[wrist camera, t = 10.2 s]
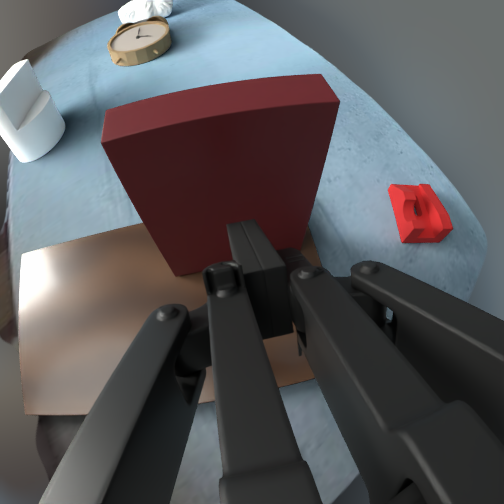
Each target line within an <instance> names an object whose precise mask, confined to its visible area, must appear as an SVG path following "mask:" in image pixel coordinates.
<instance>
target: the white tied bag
mask: <svg viewBox="0 0 504 504" xmlns="http://www.w3.org/2000/svg"><path fill="white" fill-rule="evenodd" d="M172 6H173V0H134V1H130V2H129V3H127V4H126V5H125V6H123V7H121V9H120V10H119V12H118V14H119V18H120V19H121V21H122V23H123V24H124V23H127V22H131V23H134V22H137V21H139V20H143V19H149V18H150V17H152V16H161V17H163V18H165V17H167V16H169V15H170V14H171V11H172Z"/></svg>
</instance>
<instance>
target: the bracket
mask: <svg viewBox="0 0 504 504" xmlns="http://www.w3.org/2000/svg"><path fill="white" fill-rule="evenodd" d="M388 192H389V196H390V199H391V203H392V206H393V210H394V214H395V218H396V222H397V226H398V230H399V234H400V238H401V242H402V243H438V242H441V241H442V240H443V239H444V238H445V237H446V236H447V235H448V234H449V233H450V232H451V231H452V230H453V227H452V223H451V220H450V217H449V214H448V213H447V211H446V210H445V208H444V206H443V205H442V203H441V202H440V200H439V199H438V197H437V195H436V194H435V192H434V191H433V189H432V188H431V186H430V185H429V184H419V186H414V185H397V184H391V185H390V187H389V189H388ZM414 206H415V209H416V212H417V215H416V214H415V212H414Z"/></svg>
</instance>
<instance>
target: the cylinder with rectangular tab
mask: <svg viewBox="0 0 504 504" xmlns="http://www.w3.org/2000/svg"><path fill="white" fill-rule="evenodd" d="M64 130H65V122H64V120H63V118H62V116H61V115H60V113H59V111H58V109H57V107H56V105H55V103H54V101H53V99H52V97H51V95H50V93H49V92H48V91H46V90H43V89H42V87H41V85H40V83H39V81H38V79H37V77H36V75H35V73H34V71H33V69H32V67H31V65H30V63H29V61H28V59H26V60H23V61H21V62H19V63H17V64H15V65H13V66H12V67H11V68H10V70H9V71H8V72H7V73H6V74H5V76H4V77H3V78H2V79H1V80H0V135H1V136H2V138H3V139H4V140H5V142H6V143H7V145H8V146H9V147H10V149H11V150H12V151H13V153H14V154H15V155H16V157H17V158H18V159H19V161H21V162H23V163H25V162H31V161H35V160H37V159H38V158H40V157H42V156H43V155H45V154H46V153H48V152H49V151H50V150H51V149H52V148H53V147H54V146H55V145H56V144H57V143H58V141H59V140H60V139H61V137H62V135H63V133H64Z"/></svg>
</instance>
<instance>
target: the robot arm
mask: <svg viewBox="0 0 504 504" xmlns="http://www.w3.org/2000/svg"><path fill="white" fill-rule="evenodd" d="M226 226H227V232H228V237H229V242H230V248H231V253H232V258H233V260H230V261H223V262H218V263H215V264H212V265H210V266H208V267H206V268H205V269H204V270H203V271H202V277H203V281H204V285H205V289H206V293H207V302H206V303H205V304H204V305H202V306H201V307H199V308H197V309H194V310H192V311H189V312H188V309H187V307H186V306H185V305H182V304H165V305H164V306H163V305H162V306H160V307H159V308H157V309H156V310H154V311H153V312H152V313H151V314H150V315H149V316H148V318H147V319H146V321H145V322H144V324H143V326H142V327H141V329H140V330H139V332H138V333H137V335H136V336H135V338H134V340H133V341H132V343H131V344H130V346H129V347H128V349H127V351H126V352H125V354H124V355H123V357H122V359H121V360H120V362H119V363H118V365H117V367H116V368H115V370H114V371H113V373H112V375H111V376H110V378H109V380H108V381H107V383H106V385H105V386H104V388H103V389H102V391H101V393H100V394H99V396H98V398H97V399H96V401H95V403H94V405H93V406H92V408H91V410H90V411H89V413H88V415H87V416H86V418H85V420H84V422H83V423H82V425H81V427H80V429H79V430H78V432H77V434H76V436H75V437H74V439H73V441H72V443H71V444H70V446H69V448H68V450H67V452H66V453H65V455H64V457H63V459H62V461H61V462H60V464H59V466H58V468H57V470H56V472H55V474H54V475H53V477H52V479H51V481H50V483H49V485H48V487H47V489H46V491H45V493H44V494H43V496H42V498H41V500H40V502H39V504H169V503H170V500H171V496H172V493H173V489H174V486H175V482H176V478H177V475H178V471H179V468H180V464H181V461H182V457H183V454H184V450H185V447H186V443H187V440H188V437H189V433H190V430H191V426H192V423H193V419H194V416H195V412H196V409H197V405H198V402H199V399H200V395H201V392H202V388H203V385H204V381H205V378H206V368H207V367H210V366H212V372H213V383H214V394H215V405H216V415H217V424H218V434H219V443H220V451H221V460H222V468H223V477H222V478H220V479H219V495H220V503H221V504H323V503H322V501H321V498H320V495H319V492H318V490H317V487H316V484H315V481H314V478H313V476H312V473H311V471H310V468H309V466H308V464H307V462H306V461H304V460H303V459H302V456H301V454H300V451H299V448H298V445H297V442H296V439H295V436H294V433H293V430H292V427H291V424H290V421H289V419H288V416H287V413H286V410H285V407H284V404H283V401H282V398H281V395H280V391H279V388H278V385H277V382H276V379H275V376H274V373H273V370H272V367H271V364H270V361H269V358H268V355H267V352H266V349H265V346H264V343H263V340H265V339H269V338H273V337H278V336H282V335H286V334H291V333H294V329H293V323H294V325H295V327H296V333H297V343H298V353H299V356H302V351H303V353H304V355H305V357H306V359H307V361H308V364H309V366H310V368H311V370H312V372H313V374H314V376H315V378H316V380H317V383H318V385H319V387H320V389H321V391H322V393H323V395H324V397H325V400H326V402H327V404H328V406H329V408H330V410H331V412H332V414H333V417H334V419H335V421H336V423H337V425H338V427H339V429H340V431H341V434H342V436H343V438H344V440H345V442H346V444H347V446H348V448H349V451H350V453H351V455H352V457H353V459H354V461H355V463H356V465H357V468H358V470H359V472H360V474H361V476H362V478H363V480H364V482H365V484H366V487H367V489H368V493H369V498H370V504H504V321H503V320H501V319H499V318H497V317H495V316H493V315H491V314H489V313H487V312H485V311H483V310H481V309H479V308H477V307H475V306H473V305H471V304H469V303H467V302H465V301H463V300H460V299H458V298H456V297H454V296H452V295H450V294H448V293H446V292H444V291H442V290H440V289H437V288H435V287H433V286H431V285H429V284H427V283H425V282H423V281H420V280H418V279H416V278H414V277H412V276H410V275H407V274H405V273H403V272H401V271H399V270H396V269H394V268H392V267H390V266H388V265H385V264H383V263H380V262H375V261H371V260H370V261H362V262H360V263H357V264H355V265H353V266H352V268H351V276H347V277H333V276H332V275H331V274H330V273H329V272H328V270H326V269H325V268H323V267H320V266H312V265H311V263H310V262H309V261H308V260H307V259H306V258H305V256H304V255H303V254H302V253H301V252H300V251H299V250H297V249H295V248H292V247H290V248H285V249H280V250H275V248H274V247H273V245H272V244H271V242H270V241H269V239H268V238H267V236H266V235H265V233H264V232H263V231H262V229H261V228H260V226H259V225H258V223H257V222H256V220H255V219H251V220H246V221H241V222H235V223H230V224H226ZM387 307H388V308H390V309H391V310H392V311H393V317H392V321H391V320H389V319H387V318H386V311H387Z"/></svg>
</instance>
